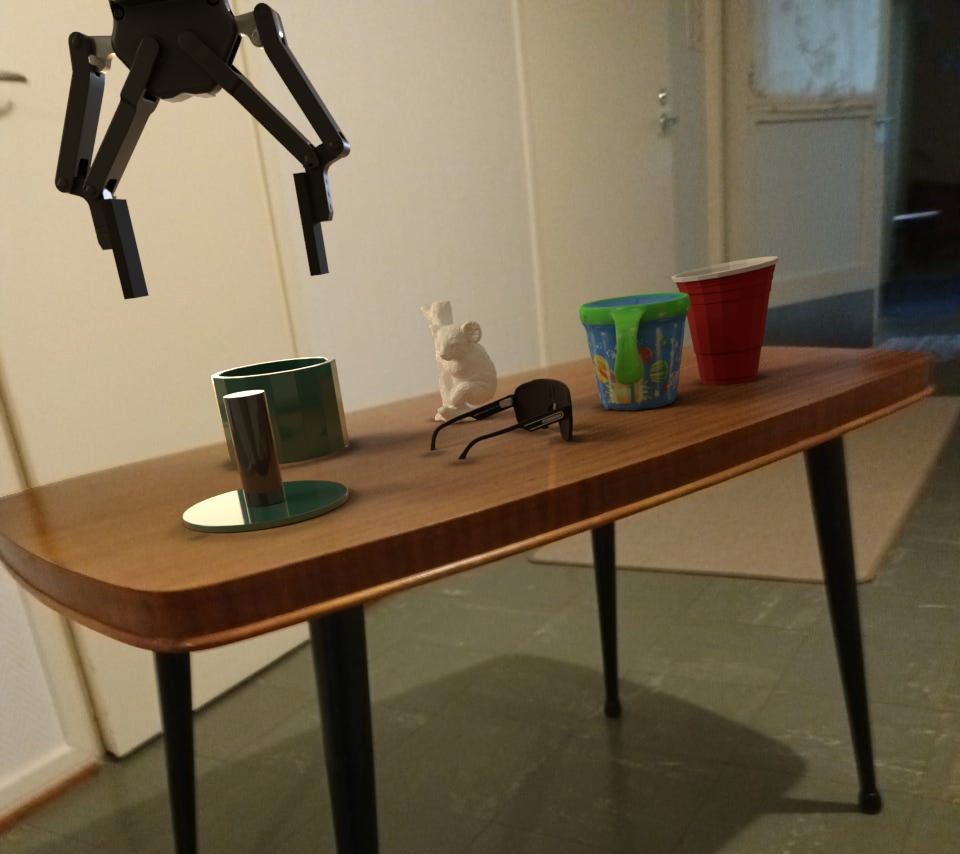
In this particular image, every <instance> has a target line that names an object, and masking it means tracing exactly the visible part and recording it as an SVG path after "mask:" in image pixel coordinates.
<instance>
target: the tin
mask: <svg viewBox="0 0 960 854" xmlns="http://www.w3.org/2000/svg"><path fill="white" fill-rule="evenodd" d="M338 373H339V372H338V367H337V360H336V358H333V357H332V356H310V357H297V358H296V357H295V358H287V359H280V360H272V361H266V362H259V363H253V364H248V365H243V366H238V367H232V368H230V369H226V370H222V371H218V372H216V373H214V374H212V375H211V376H210V377H211V382H212V387H213V391H214V396H215V401H216V406H217V410H218V415H219V418H220V424H221V428H222V433H223V437H224V441H225V442H224V443H225V447H226V452H227V456H228V460H229V462H230V464H231V465H236V466H238V464H237V460H236V455H235V450H234V446H233V441H232V436H231V432H230V427H229V422H228V418H227V413H226V408H225V404H224V399H223V397H224V396H226V395H229V394H233V393H238V392H244V391H251V390H264V391H265V394H266V399H267V404H268V409H269V414H270V419H271V424H272V429H273V434H274V439H275V444H276V449H277V454H278V460H279V465H285V464H292V463H296V462H301V461H307V460H313V459H316V458H320V457H325V456H327V455H332V454H334V453H336V452H338V451H341V450H343V449H345V448H350V439H349V433H348V426H347V421H346V420H347V419H346V415H345V409H344V403H343V396H342V392H341V386H340V379H339V374H338Z"/></svg>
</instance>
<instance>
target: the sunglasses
mask: <svg viewBox="0 0 960 854" xmlns="http://www.w3.org/2000/svg"><path fill="white" fill-rule="evenodd" d="M554 405H555V408H554ZM511 408H513V411H514V412H513V413H514V415H515V419H516V422H517V423H516V424H515V423H514V424H513V425H510V426H508V427H505V428H502V429H499V430H496V431H493V432H490V433H487V434H483V435H481V436H478V437H476V438H474V439H473V440H471V441H470V442H469V443H468V444H467V445H466V447H465V448H464V449H463V451H462V453H461V454H460V455H459V457H457V458H458V459H457V460H466V459H467V455H468V454H469V452H470V450H471V449H472V448H473V447H474V446H475V445H476V444H478V443H479V442H481V441H484V440H488V439H491V438H494V437H497V436H501V435H504V434H507V433H510V432H512V431H516V430H518V429H522V430H525V431H527V432H530V433H532V432H536V431H538V430H547V429H549V426H551V425H554V424H557V423H558V426H559V431H560V436H561V438H562V439H563V440H564V441H567V442H570V441H572V439H573V432H574V428H573V427H574V415H573V402H572V395H571V390H570V388H569V387H568V385H567V384H566V383H565V382H563V381H561V380H558V379H555V378H544V377H543V378H542V377H541V378H534V379H532V380H530V381H527V382H523V383H521V384H520V385H518V386H517V387H516V388H515V389H514V392H513V393H511V394H508V395H506V396H504V397H501V398H499V399H496V400H493V401H492V402H489V403H486V404H483V405H482V406H479V407H478V408H477V409H474V410H472V411H469V412H467V413H464V414H462V415H459V416H457V417H455V418H453V419H451V420H449V421H447V422H445V421H444V422H443V423H441V424H439V425H438V426H437V427H436V428H435V429H434V430H433V433H432V436H431V440H430V451H432V452H433V451H435V450H436V442H437V438H438V437H437V436H438V434H439V433H440V432H441V430H443V429H444V428H447V427H448V426H450V425H453V424H452V423H454V422H457V421H459V420H462V419H464V418H467V417H472V418H474V419H477V420H476V421H482V420H484V419H487V418H489V417H492V416H494V415H496V414H499V413H501V412H503V411H506V410H509V409H511Z"/></svg>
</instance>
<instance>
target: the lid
mask: <svg viewBox="0 0 960 854" xmlns="http://www.w3.org/2000/svg"><path fill="white" fill-rule="evenodd" d="M223 399H224V404H225V408H226V413H227V418H228V422H229V427H230V432H231V436H232V441H233V446H234V450H235V455H236V460H237V464H238V465H237V469H238V473H239V477H240V482H241V487H242V488H241V489H236V490H233V491H228V492H225V493H222V494H219V495H216V496H215V495H214V496H212V497H210V498H207V499H205V500H202V501H200V502H198V503H196V504H194V505H192V506H191V507H188V508H187V509H186V510H185V511H184V513H183V514H182V522H183V524H184V526H185V527H186V528H188V529H190V530H193V531H195V532H196V531H197V532H201V533H202V532H203V533H219V534H220V533H221V534H223V533H242V532H251V531H258V530H265V529H270V528H277V527H282V526H286V525H290V524H295V523H299V522H303V521H306V520H309V519H313V518H316V517H319V516H322V515H324V514H327V513H329V512H332V511H333V510H336V509H337V508H339V507H341V506H342V505H343V504H345V503H346V502H347V501H348V499H349V497H350V492H349V488H348V487H347V486H346V485H345V484H343V483H340V482H338V481H337V482H336V481H331V480H322V479H321V480H320V479H319V480H318V479H310V480H309V479H307V480H306V479H305V480H304V479H303V480H289V481H284V480H283V475H282V470H281V464H279V460H278V454H277V449H276V444H275V439H274V434H273V429H272V424H271V419H270V414H269V409H268V404H267V399H266V394H265V391H264V390H251V391H244V392H238V393H233V394H229V395H226V396H224V397H223Z"/></svg>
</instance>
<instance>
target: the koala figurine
mask: <svg viewBox="0 0 960 854" xmlns="http://www.w3.org/2000/svg"><path fill="white" fill-rule="evenodd" d="M420 312H421V313H422V315H423V316H424V317H425V318H426V319H427V321H429V323H431V324H430V325H429V326H428V327H429V329H430V332H431V338H432V340H433V341H434V347H435V351H434V354H435V356H434V357H435V362H436V363H437V367H438V372H437V373H438V379H439V393H440V397H441V402H442V406H440V407H439V408H437V413H436V415H435V417H434V420H435V421H443V422H444V423H445V422H447V421H449V420H451V419H453V418H455V417H457V416H459V415H462V414H464V413H467V412H469V411H472V410H474V409H477V408H479V407H478V406H480V405H484V404H487V403H488V402H490V401H492V399H493V398H494V396H495V394H496V392H497V389H498V373H497V369H496V366H495V363H494V361H493V360H492V359H491V356H490V355H489V353H488V352H487V350H486V349H485V347H484V345H482V344H481V343H480V341H481V340H482V335H483V334H482V333H483V331H482V329H481V325H480V324H479V323H478V322H477V321H476V320H467V321H466V322H464V323H463V324H460V323H454V319H453V308H452V304H451V301H450V300H449V298H445V299H441V300H438V301H434V302H432V304H431V306H429V305H428V304H423V305H422V306H421V307H420ZM475 421H478V420H477V419H474V418H472V417H467V418H464V419H462V420H459V421H457V422H454V423H452V424H451V425H455V424H459V423H465V422H475Z"/></svg>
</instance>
